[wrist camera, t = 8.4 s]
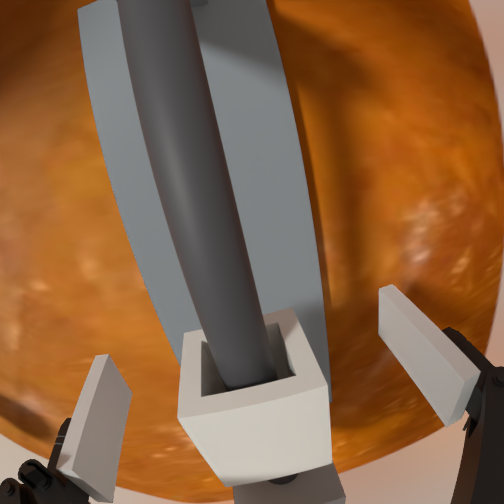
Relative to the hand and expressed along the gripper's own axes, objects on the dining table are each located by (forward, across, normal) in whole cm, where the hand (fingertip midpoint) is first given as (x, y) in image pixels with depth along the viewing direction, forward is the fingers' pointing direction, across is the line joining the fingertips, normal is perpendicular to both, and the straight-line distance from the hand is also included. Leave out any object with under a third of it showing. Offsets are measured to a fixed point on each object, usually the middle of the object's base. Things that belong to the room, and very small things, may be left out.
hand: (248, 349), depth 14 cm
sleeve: (-1, 0, 0) cm, 1 cm away
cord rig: (+6, 0, +4) cm, 7 cm away
